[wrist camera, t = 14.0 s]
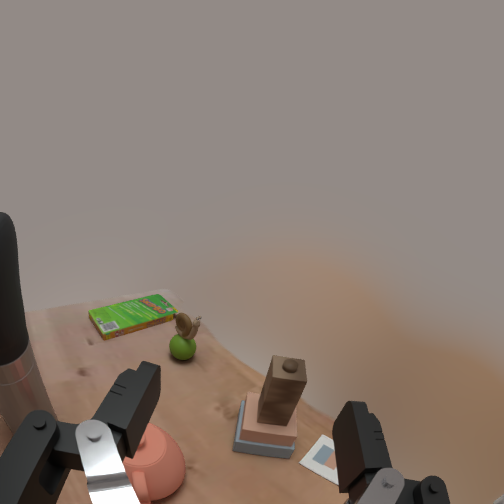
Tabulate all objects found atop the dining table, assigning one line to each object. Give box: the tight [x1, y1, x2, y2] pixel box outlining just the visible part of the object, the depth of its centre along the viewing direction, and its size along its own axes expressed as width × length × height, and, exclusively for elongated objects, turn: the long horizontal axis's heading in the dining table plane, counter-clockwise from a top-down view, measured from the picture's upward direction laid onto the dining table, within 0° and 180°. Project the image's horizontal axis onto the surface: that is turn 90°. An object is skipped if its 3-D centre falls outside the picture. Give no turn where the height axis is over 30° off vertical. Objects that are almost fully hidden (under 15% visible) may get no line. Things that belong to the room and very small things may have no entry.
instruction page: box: [299, 435, 339, 486], centre depth 37 cm, size 10×8×1 cm
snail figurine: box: [169, 313, 201, 360], centre depth 55 cm, size 5×6×12 cm
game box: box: [89, 294, 178, 340], centre depth 65 cm, size 3×10×20 cm
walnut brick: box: [257, 355, 307, 426], centre depth 38 cm, size 4×4×11 cm
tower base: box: [233, 392, 297, 458], centre depth 41 cm, size 9×9×6 cm
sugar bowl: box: [122, 423, 186, 504], centre depth 28 cm, size 12×14×10 cm
